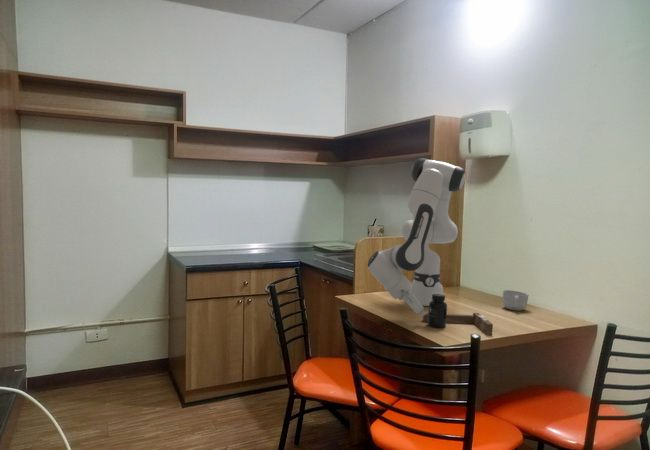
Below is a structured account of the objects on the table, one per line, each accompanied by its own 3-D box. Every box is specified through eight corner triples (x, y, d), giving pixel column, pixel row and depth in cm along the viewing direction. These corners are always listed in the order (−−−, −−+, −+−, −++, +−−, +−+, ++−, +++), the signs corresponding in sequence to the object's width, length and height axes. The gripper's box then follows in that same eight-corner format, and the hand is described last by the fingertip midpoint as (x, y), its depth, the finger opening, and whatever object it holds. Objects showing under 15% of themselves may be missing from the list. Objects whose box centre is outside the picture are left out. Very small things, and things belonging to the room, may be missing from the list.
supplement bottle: (449, 328, 173) (451, 296, 172) (433, 328, 171) (435, 297, 170) (439, 323, 179) (441, 292, 178) (424, 323, 177) (426, 293, 176)
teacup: (503, 305, 216) (505, 288, 215) (528, 308, 210) (530, 291, 210) (498, 311, 204) (500, 293, 203) (525, 315, 198) (526, 296, 198)
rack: (422, 320, 182) (423, 309, 182) (477, 322, 182) (478, 311, 182) (431, 332, 166) (432, 320, 166) (492, 335, 166) (492, 323, 166)
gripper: (411, 287, 164) (436, 315, 164) (401, 277, 184) (424, 302, 185) (398, 299, 164) (423, 327, 165) (390, 287, 184) (412, 312, 185)
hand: (424, 314), depth 175 cm, fingers closed
